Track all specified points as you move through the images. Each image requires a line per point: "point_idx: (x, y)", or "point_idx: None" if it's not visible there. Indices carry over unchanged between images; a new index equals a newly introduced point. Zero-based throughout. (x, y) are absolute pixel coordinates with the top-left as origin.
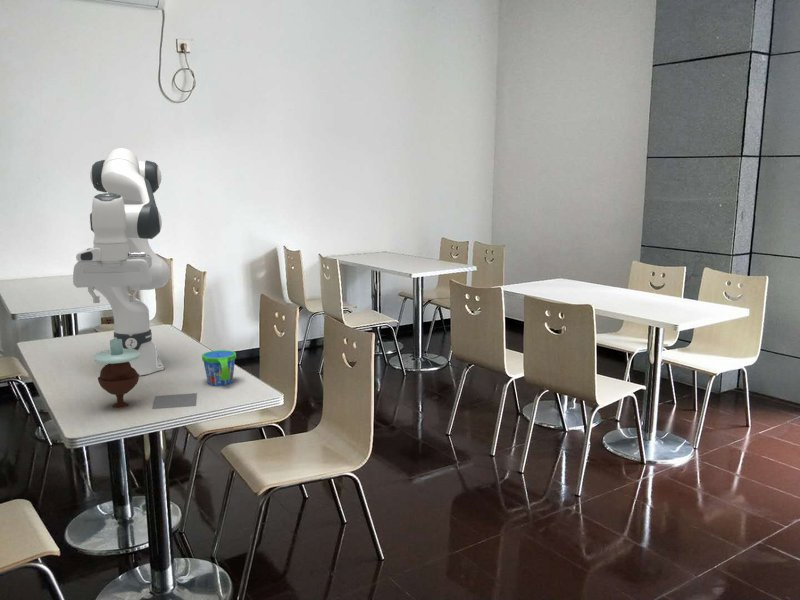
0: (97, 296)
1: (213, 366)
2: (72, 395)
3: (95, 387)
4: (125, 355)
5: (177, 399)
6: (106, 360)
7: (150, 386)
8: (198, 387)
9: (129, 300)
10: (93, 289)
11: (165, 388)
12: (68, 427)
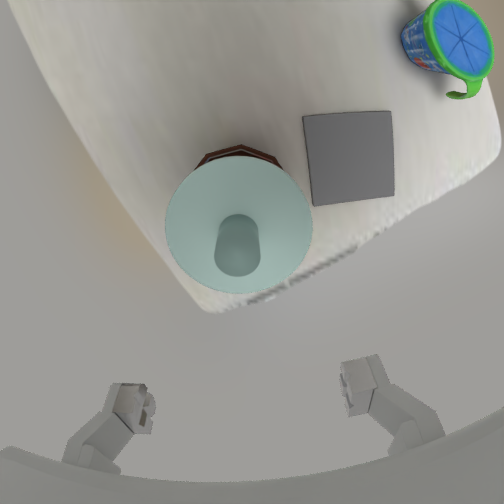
0: (134, 424)
1: (445, 71)
2: (102, 93)
3: (131, 33)
4: (274, 255)
5: (357, 150)
6: (228, 290)
7: (265, 22)
8: (382, 51)
9: (341, 391)
10: (116, 472)
11: (308, 42)
12: (181, 275)
